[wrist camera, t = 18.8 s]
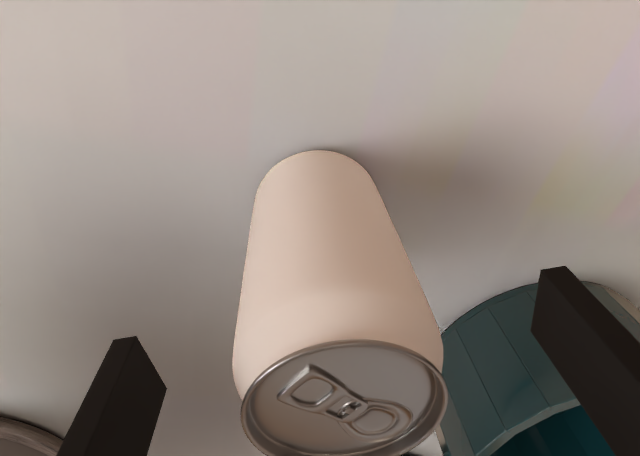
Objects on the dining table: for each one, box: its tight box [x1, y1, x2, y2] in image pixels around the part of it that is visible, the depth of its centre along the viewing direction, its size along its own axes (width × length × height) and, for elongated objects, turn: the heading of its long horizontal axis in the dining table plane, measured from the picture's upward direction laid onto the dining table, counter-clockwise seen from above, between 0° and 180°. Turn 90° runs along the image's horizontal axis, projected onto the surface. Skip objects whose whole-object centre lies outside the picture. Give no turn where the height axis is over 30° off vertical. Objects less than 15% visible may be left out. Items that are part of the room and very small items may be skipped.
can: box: [232, 150, 448, 456], centre depth 16 cm, size 6×6×12 cm
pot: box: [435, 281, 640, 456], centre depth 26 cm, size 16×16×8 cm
